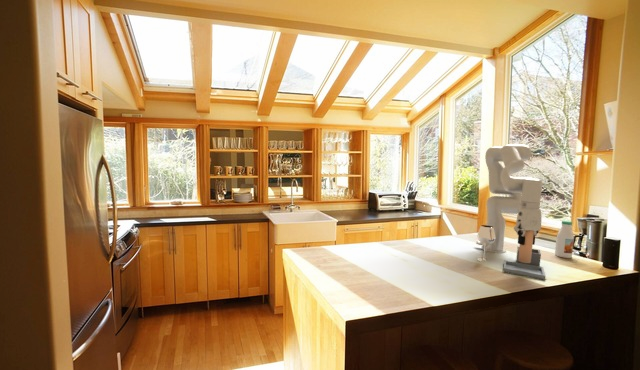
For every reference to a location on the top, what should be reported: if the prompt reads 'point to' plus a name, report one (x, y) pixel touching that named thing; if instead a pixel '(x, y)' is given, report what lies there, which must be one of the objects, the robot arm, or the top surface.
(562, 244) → the milk bottle
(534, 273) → the tray
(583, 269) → the top surface
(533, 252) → the grey open box
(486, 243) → the wineglass
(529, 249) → the tan tall block
